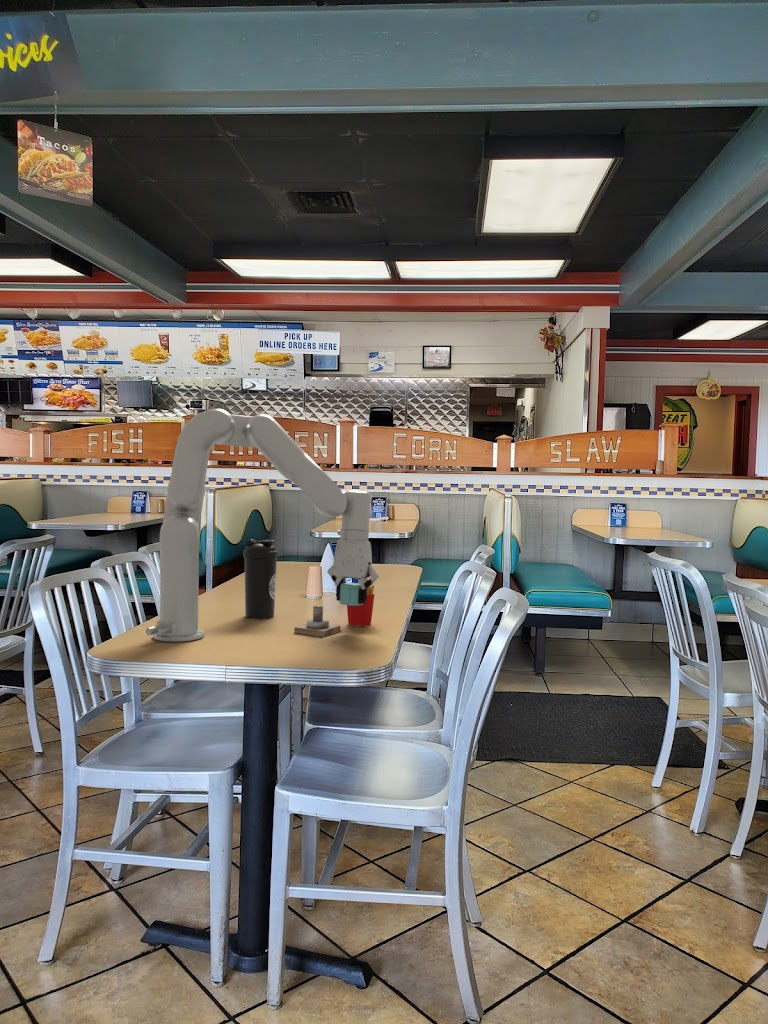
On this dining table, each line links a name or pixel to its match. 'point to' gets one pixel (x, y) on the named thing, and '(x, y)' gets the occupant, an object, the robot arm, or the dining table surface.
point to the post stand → (317, 625)
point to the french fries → (362, 610)
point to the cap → (349, 593)
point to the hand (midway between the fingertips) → (351, 601)
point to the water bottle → (260, 578)
